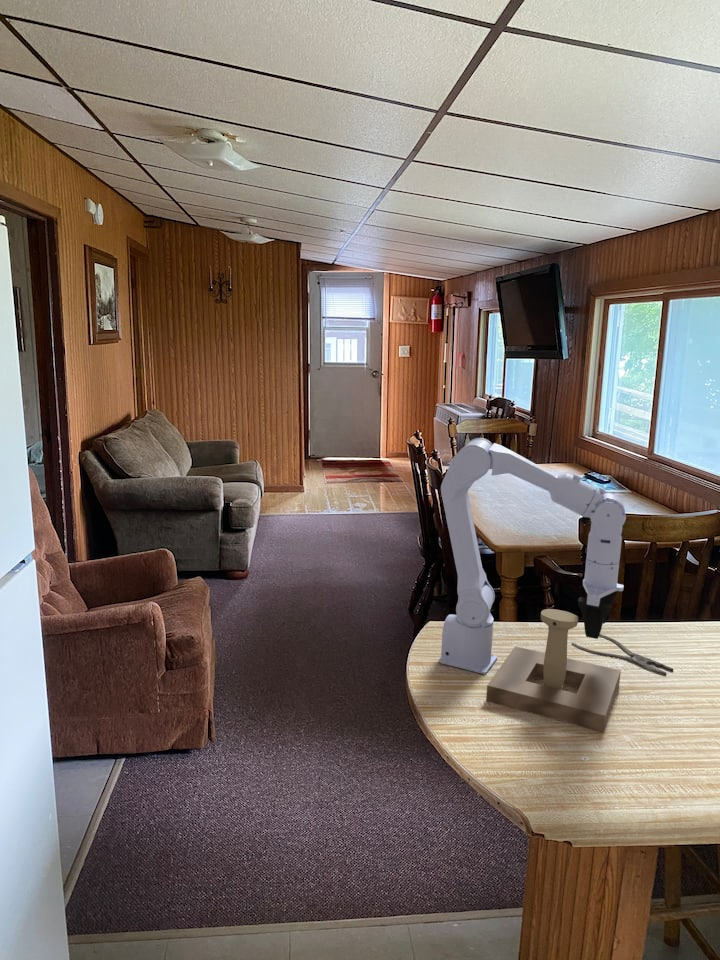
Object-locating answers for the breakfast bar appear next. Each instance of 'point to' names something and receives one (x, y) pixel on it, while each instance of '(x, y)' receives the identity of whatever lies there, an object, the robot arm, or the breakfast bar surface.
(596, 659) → the breakfast bar surface
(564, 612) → the handle
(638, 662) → the pliers
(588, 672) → the socket plate
